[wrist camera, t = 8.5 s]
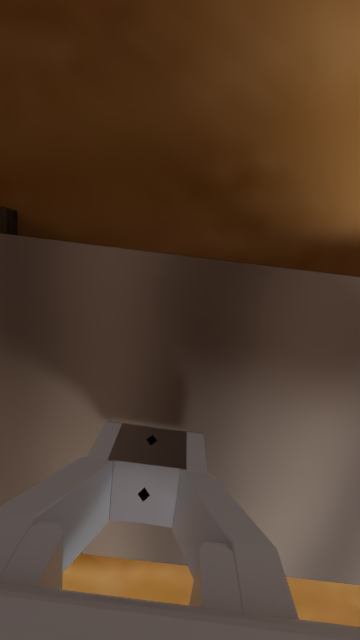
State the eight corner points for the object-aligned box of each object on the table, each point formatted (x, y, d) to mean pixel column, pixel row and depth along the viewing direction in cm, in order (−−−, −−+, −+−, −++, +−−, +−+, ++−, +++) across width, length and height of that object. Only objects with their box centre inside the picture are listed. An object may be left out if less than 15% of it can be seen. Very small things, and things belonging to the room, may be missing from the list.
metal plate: (413, 284, 11) (497, 294, 8) (340, 517, 14) (383, 587, 11) (29, 238, 11) (-29, 229, 8) (31, 481, 14) (-12, 543, 11)
